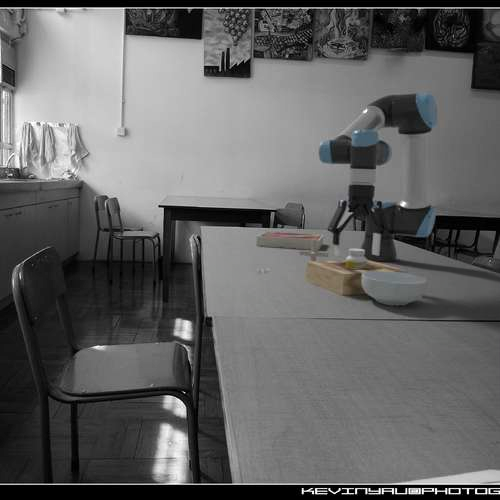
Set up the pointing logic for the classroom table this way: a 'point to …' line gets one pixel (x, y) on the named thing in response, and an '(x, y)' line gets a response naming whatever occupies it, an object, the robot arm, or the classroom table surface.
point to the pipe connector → (314, 252)
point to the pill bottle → (356, 259)
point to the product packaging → (289, 240)
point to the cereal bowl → (393, 287)
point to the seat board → (342, 275)
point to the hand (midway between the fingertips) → (356, 255)
